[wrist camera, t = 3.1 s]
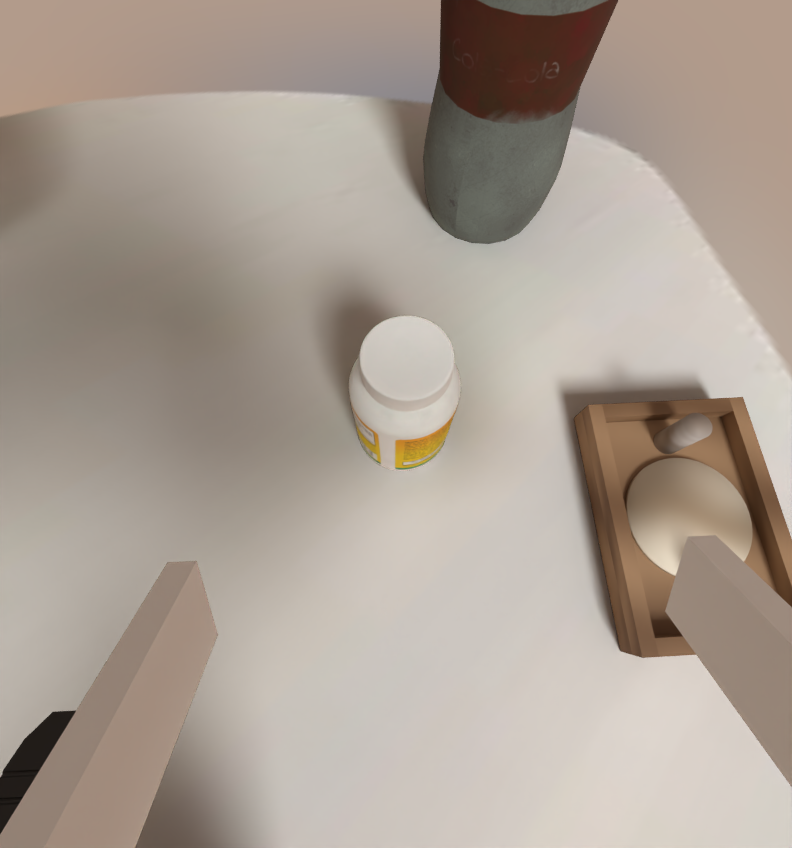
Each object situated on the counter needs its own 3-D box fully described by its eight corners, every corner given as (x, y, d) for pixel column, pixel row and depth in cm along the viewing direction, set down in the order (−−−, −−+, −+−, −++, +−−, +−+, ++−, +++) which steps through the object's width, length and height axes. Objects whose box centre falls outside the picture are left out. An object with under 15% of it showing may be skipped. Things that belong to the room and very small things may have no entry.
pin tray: (790, 641, 23) (869, 652, 20) (620, 651, 23) (666, 664, 19) (717, 411, 28) (769, 382, 24) (574, 418, 28) (603, 390, 24)
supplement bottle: (345, 456, 27) (319, 391, 18) (376, 380, 29) (367, 285, 20) (430, 485, 26) (448, 433, 17) (457, 406, 28) (485, 320, 19)
